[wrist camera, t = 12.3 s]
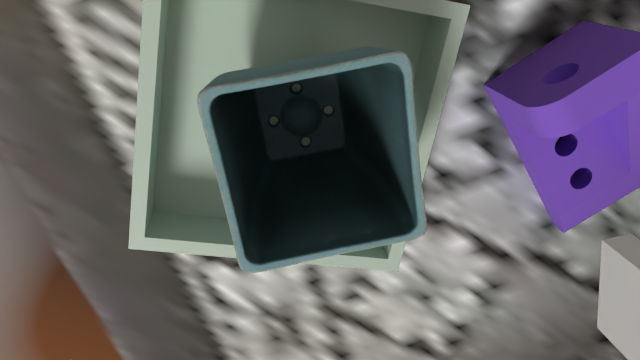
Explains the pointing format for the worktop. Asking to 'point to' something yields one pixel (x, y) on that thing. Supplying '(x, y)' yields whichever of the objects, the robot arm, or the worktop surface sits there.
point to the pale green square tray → (258, 50)
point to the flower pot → (316, 156)
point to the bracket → (576, 119)
